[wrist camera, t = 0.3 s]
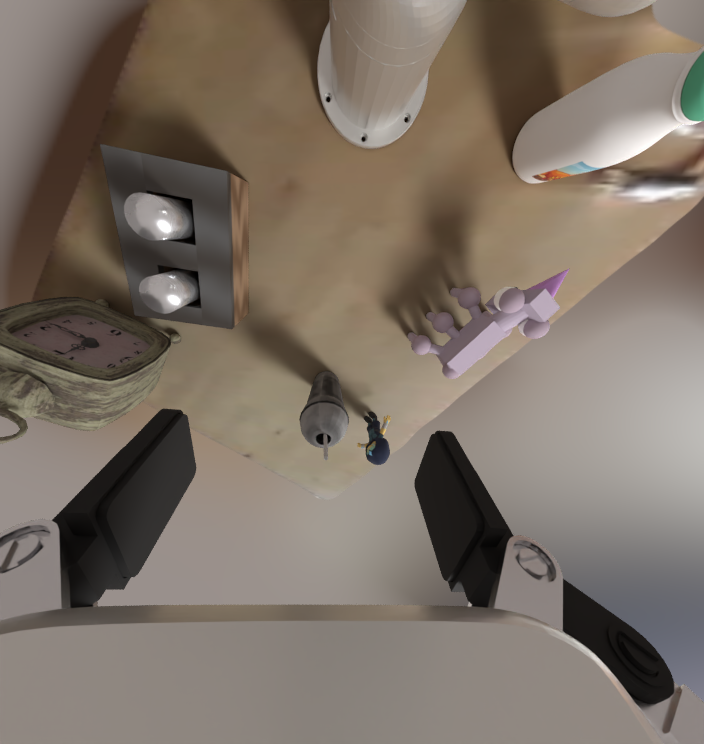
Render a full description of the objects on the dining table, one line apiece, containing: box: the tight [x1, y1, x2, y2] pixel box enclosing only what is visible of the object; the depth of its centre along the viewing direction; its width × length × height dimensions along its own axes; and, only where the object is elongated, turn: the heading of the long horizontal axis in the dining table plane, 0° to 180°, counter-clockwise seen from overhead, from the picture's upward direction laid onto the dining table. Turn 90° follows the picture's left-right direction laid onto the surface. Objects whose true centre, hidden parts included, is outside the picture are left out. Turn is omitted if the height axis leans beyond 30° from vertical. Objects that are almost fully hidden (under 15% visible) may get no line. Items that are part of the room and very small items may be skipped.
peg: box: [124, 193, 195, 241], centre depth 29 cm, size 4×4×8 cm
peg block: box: [100, 144, 249, 329], centre depth 35 cm, size 18×12×8 cm
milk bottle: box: [512, 46, 704, 183], centre depth 26 cm, size 8×8×20 cm
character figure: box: [357, 412, 391, 465], centre depth 49 cm, size 9×4×12 cm, turn 142°
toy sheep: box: [407, 268, 570, 379], centre depth 39 cm, size 20×11×14 cm, turn 139°
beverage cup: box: [300, 371, 349, 460], centre depth 41 cm, size 7×7×20 cm
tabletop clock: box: [0, 297, 181, 444], centre depth 33 cm, size 14×9×25 cm, turn 58°
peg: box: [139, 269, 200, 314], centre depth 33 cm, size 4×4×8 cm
